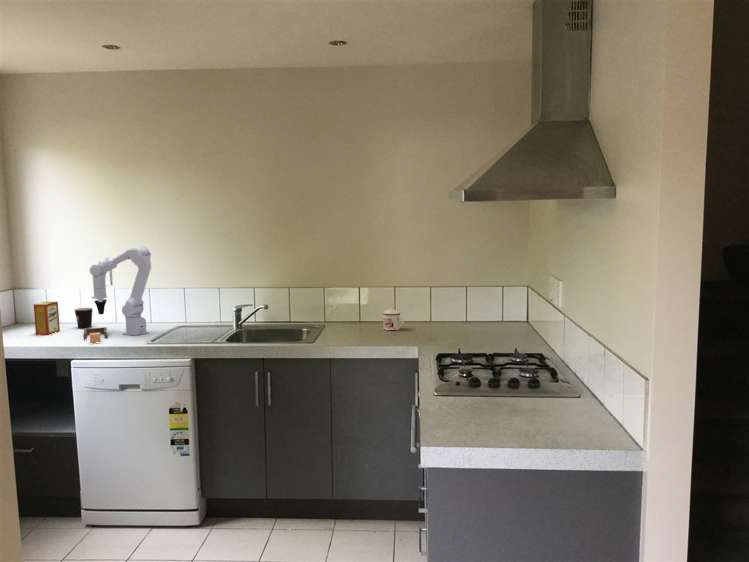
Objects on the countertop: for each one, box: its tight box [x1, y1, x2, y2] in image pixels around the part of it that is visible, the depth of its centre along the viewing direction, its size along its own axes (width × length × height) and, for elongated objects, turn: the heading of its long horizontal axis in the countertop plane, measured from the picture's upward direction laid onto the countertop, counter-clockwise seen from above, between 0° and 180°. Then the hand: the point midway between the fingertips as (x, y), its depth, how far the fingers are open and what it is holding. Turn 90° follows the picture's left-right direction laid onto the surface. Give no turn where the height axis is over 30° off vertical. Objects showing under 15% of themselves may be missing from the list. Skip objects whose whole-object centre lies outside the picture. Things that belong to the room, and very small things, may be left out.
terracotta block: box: [89, 333, 101, 344], centre depth 286 cm, size 4×4×4 cm
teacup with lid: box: [382, 306, 405, 331], centre depth 310 cm, size 12×9×12 cm
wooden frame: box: [82, 327, 108, 341], centre depth 300 cm, size 14×10×3 cm
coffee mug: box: [74, 307, 93, 330], centre depth 321 cm, size 12×9×10 cm
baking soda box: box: [33, 301, 61, 336], centre depth 308 cm, size 10×6×16 cm
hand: (101, 314), depth 309 cm, fingers closed
